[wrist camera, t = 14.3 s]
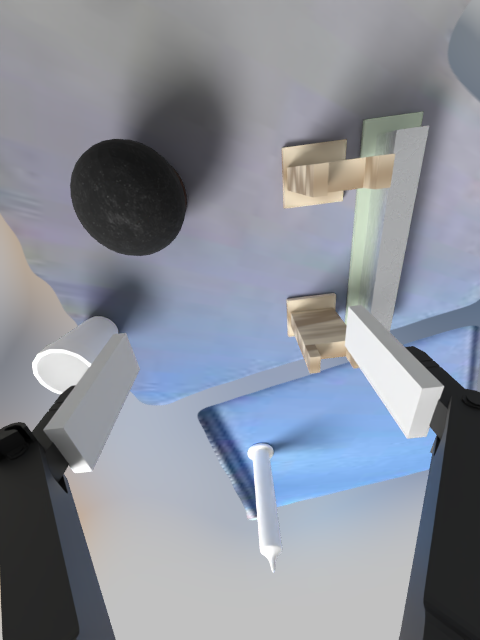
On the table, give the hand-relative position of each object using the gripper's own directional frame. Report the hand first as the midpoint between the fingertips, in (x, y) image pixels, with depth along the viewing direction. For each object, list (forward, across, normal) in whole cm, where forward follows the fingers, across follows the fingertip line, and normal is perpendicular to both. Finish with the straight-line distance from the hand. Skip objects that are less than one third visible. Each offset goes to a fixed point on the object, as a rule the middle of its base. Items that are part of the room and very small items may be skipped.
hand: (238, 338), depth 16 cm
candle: (+32, 0, -58) cm, 66 cm away
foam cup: (+32, -28, -15) cm, 45 cm away
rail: (+31, +24, -5) cm, 40 cm away
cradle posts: (+32, +13, -5) cm, 35 cm away
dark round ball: (+32, -12, +7) cm, 35 cm away
